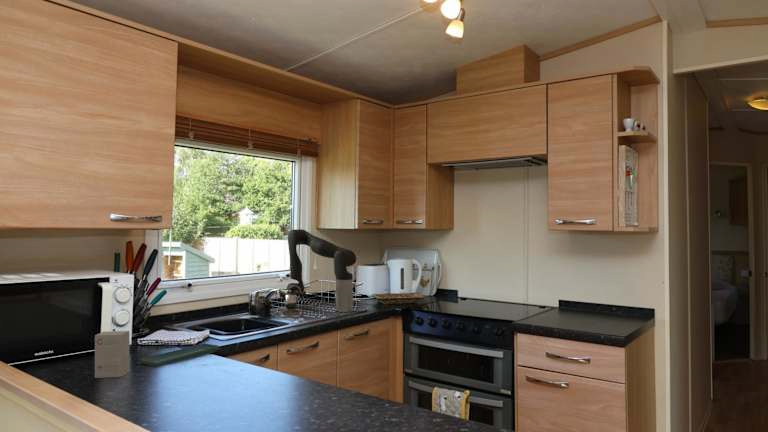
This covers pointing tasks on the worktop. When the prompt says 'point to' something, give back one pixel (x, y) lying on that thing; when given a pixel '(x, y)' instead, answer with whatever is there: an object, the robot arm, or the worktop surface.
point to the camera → (261, 308)
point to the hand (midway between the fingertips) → (292, 295)
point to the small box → (112, 354)
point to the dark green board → (180, 355)
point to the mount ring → (290, 313)
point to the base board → (291, 316)
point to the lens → (291, 303)
